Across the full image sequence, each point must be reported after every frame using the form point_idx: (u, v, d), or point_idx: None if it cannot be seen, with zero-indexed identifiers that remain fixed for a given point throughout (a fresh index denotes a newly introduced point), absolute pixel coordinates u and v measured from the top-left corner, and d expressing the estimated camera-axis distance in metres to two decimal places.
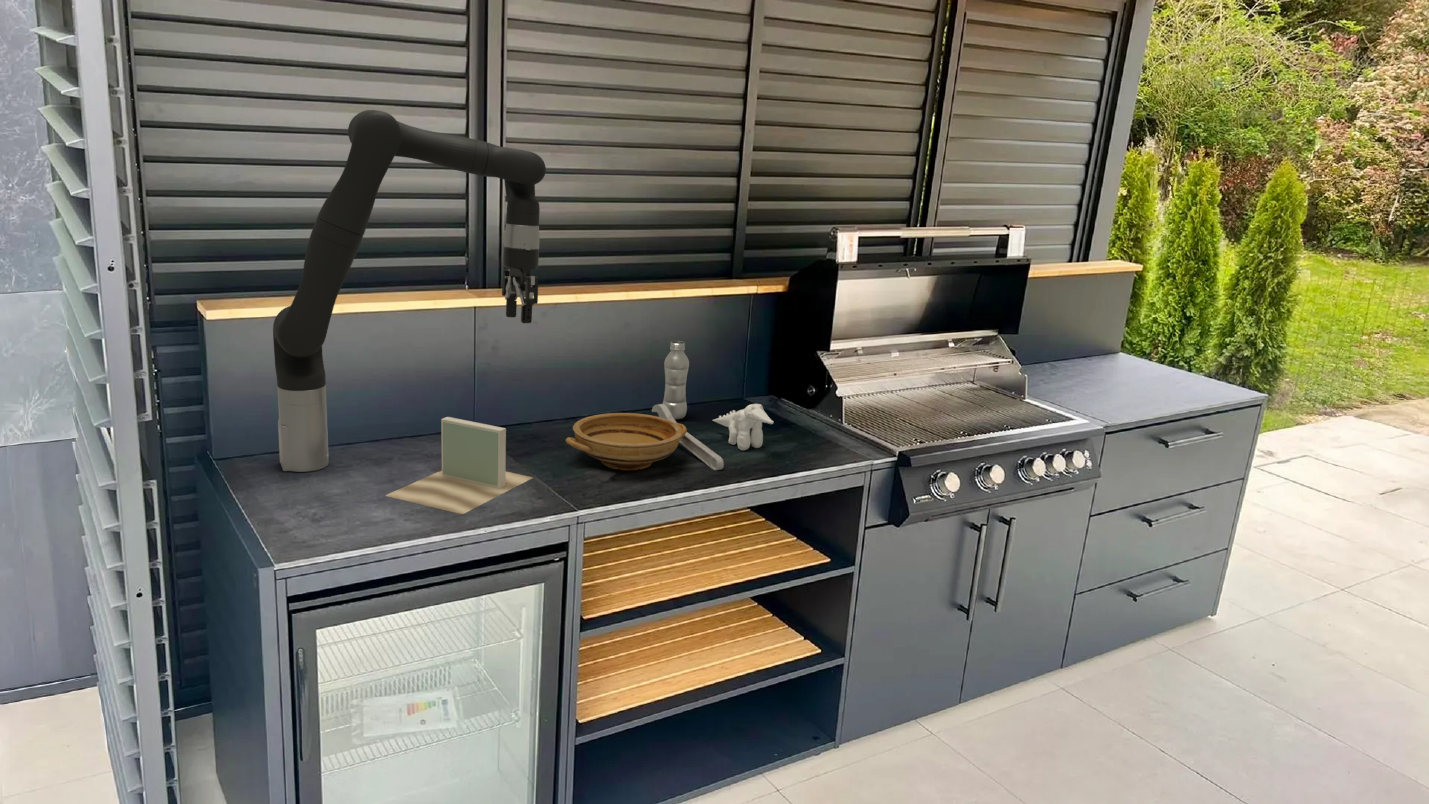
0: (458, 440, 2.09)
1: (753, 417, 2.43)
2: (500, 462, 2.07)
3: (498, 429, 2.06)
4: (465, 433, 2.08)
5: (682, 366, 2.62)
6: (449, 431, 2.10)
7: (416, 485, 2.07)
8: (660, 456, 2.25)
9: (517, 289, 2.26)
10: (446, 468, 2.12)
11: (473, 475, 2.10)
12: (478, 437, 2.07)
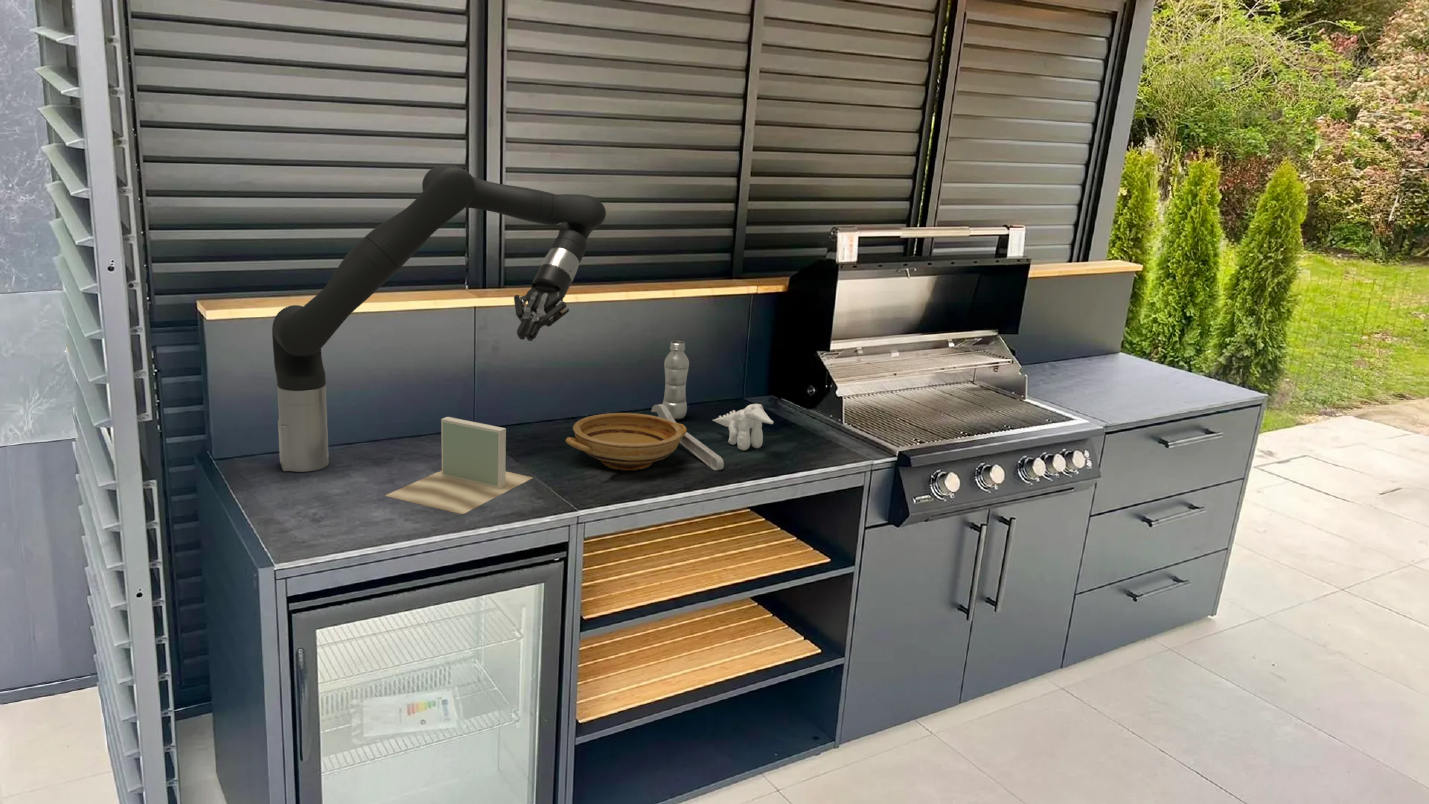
0: (458, 440, 2.09)
1: (753, 417, 2.43)
2: (500, 462, 2.07)
3: (498, 429, 2.06)
4: (465, 433, 2.08)
5: (682, 366, 2.62)
6: (449, 431, 2.10)
7: (416, 485, 2.07)
8: (660, 456, 2.25)
9: (541, 305, 2.22)
10: (446, 468, 2.12)
11: (473, 475, 2.10)
12: (478, 437, 2.07)
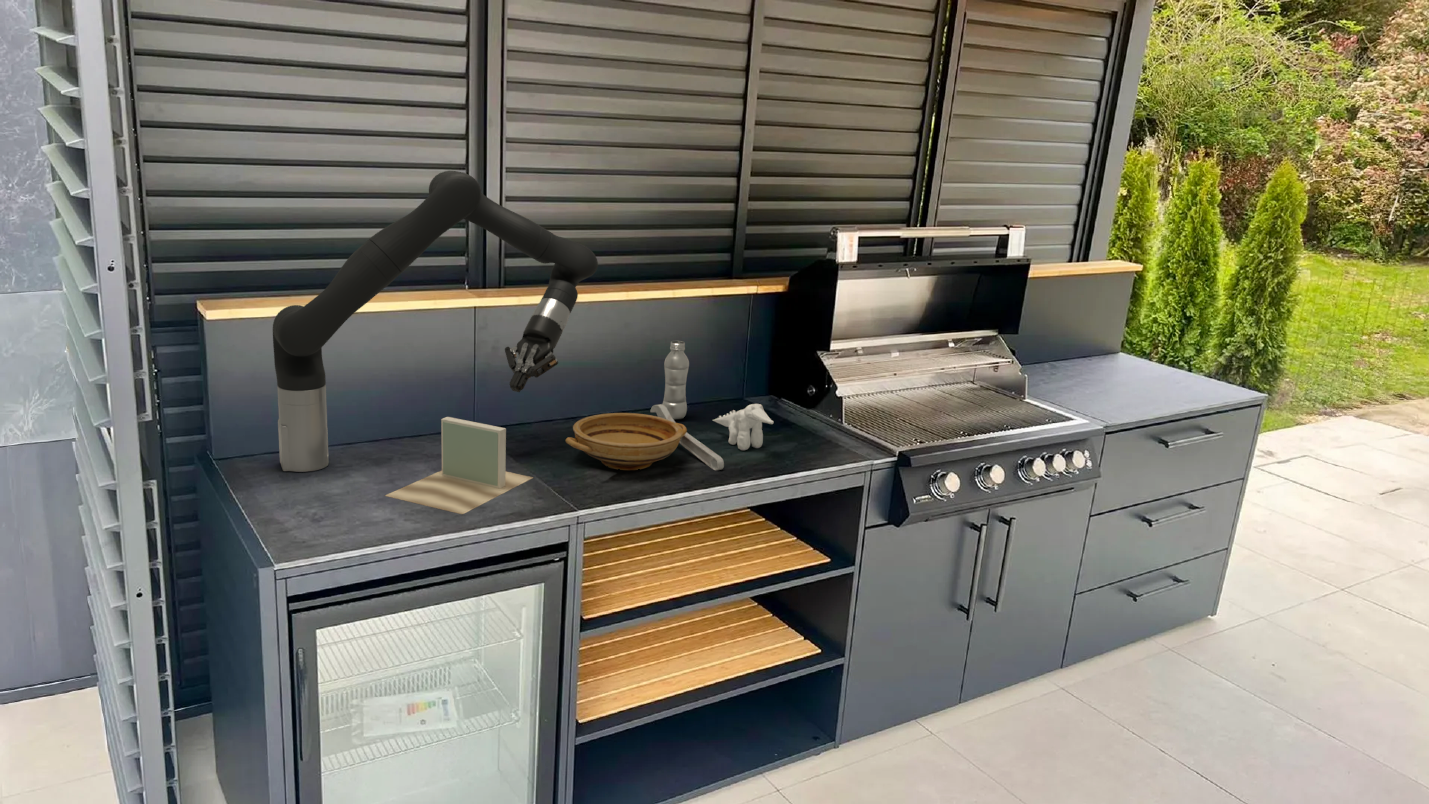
0: (458, 440, 2.09)
1: (753, 417, 2.43)
2: (500, 462, 2.07)
3: (498, 429, 2.06)
4: (465, 433, 2.08)
5: (682, 366, 2.62)
6: (449, 431, 2.10)
7: (416, 485, 2.07)
8: (660, 456, 2.25)
9: (530, 356, 2.22)
10: (446, 468, 2.12)
11: (473, 475, 2.10)
12: (478, 437, 2.07)
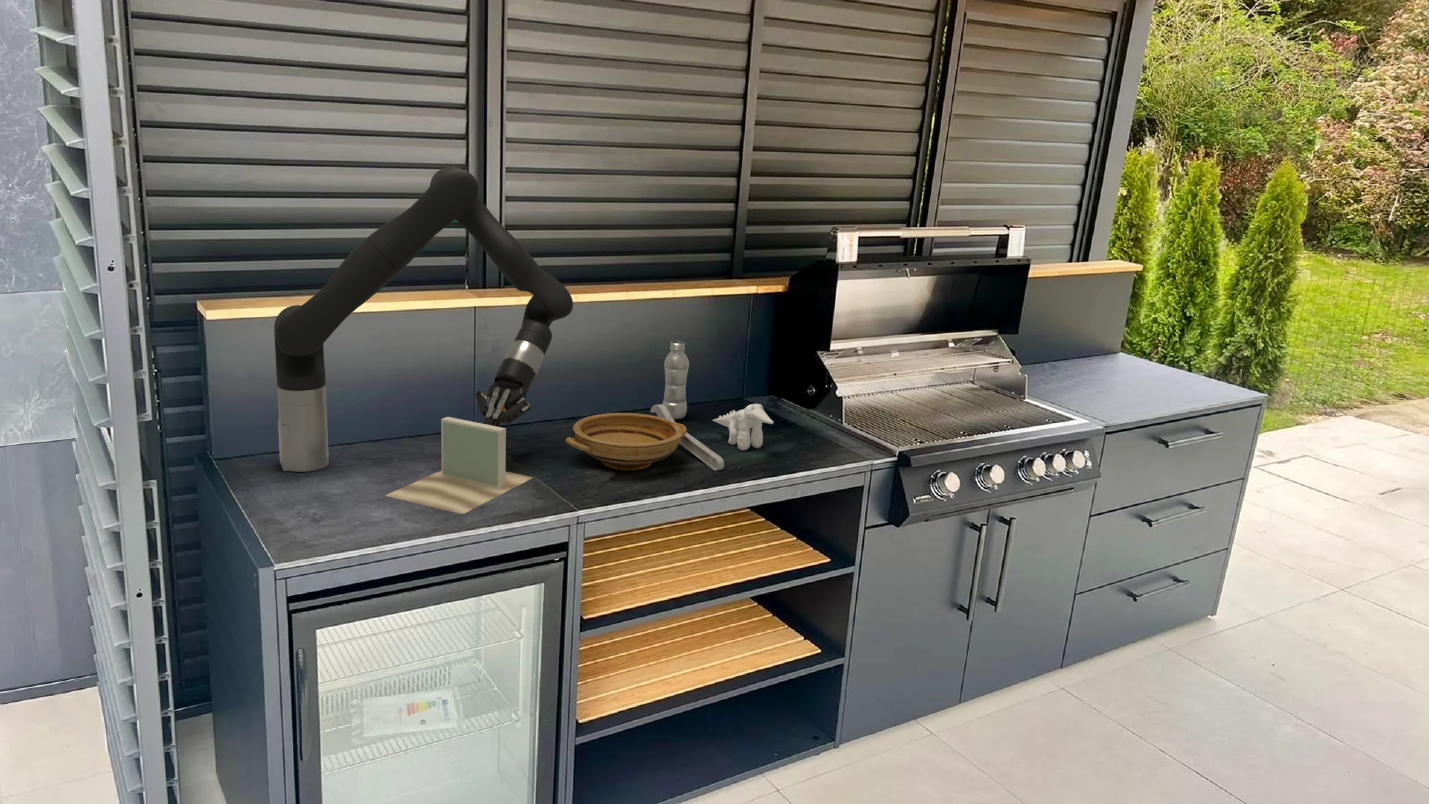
0: (458, 440, 2.09)
1: (753, 417, 2.43)
2: (500, 462, 2.07)
3: (498, 429, 2.06)
4: (465, 433, 2.08)
5: (682, 366, 2.62)
6: (449, 431, 2.10)
7: (416, 485, 2.07)
8: (660, 456, 2.25)
9: (502, 401, 2.15)
10: (446, 468, 2.12)
11: (473, 475, 2.10)
12: (478, 437, 2.07)
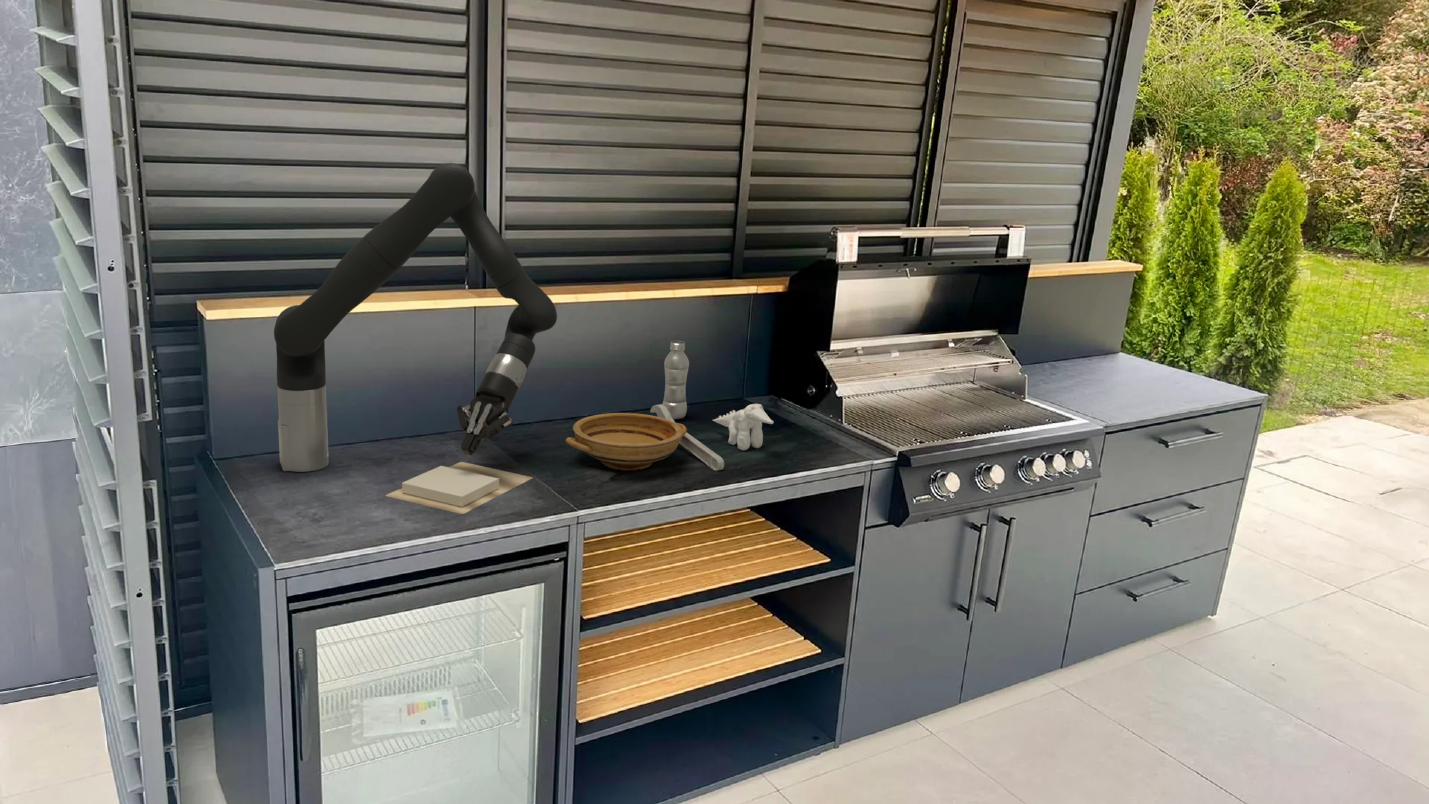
0: None
1: (753, 417, 2.43)
2: (483, 495, 2.03)
3: (458, 503, 1.97)
4: None
5: (682, 366, 2.62)
6: None
7: None
8: (660, 456, 2.25)
9: (483, 416, 2.09)
10: None
11: None
12: None
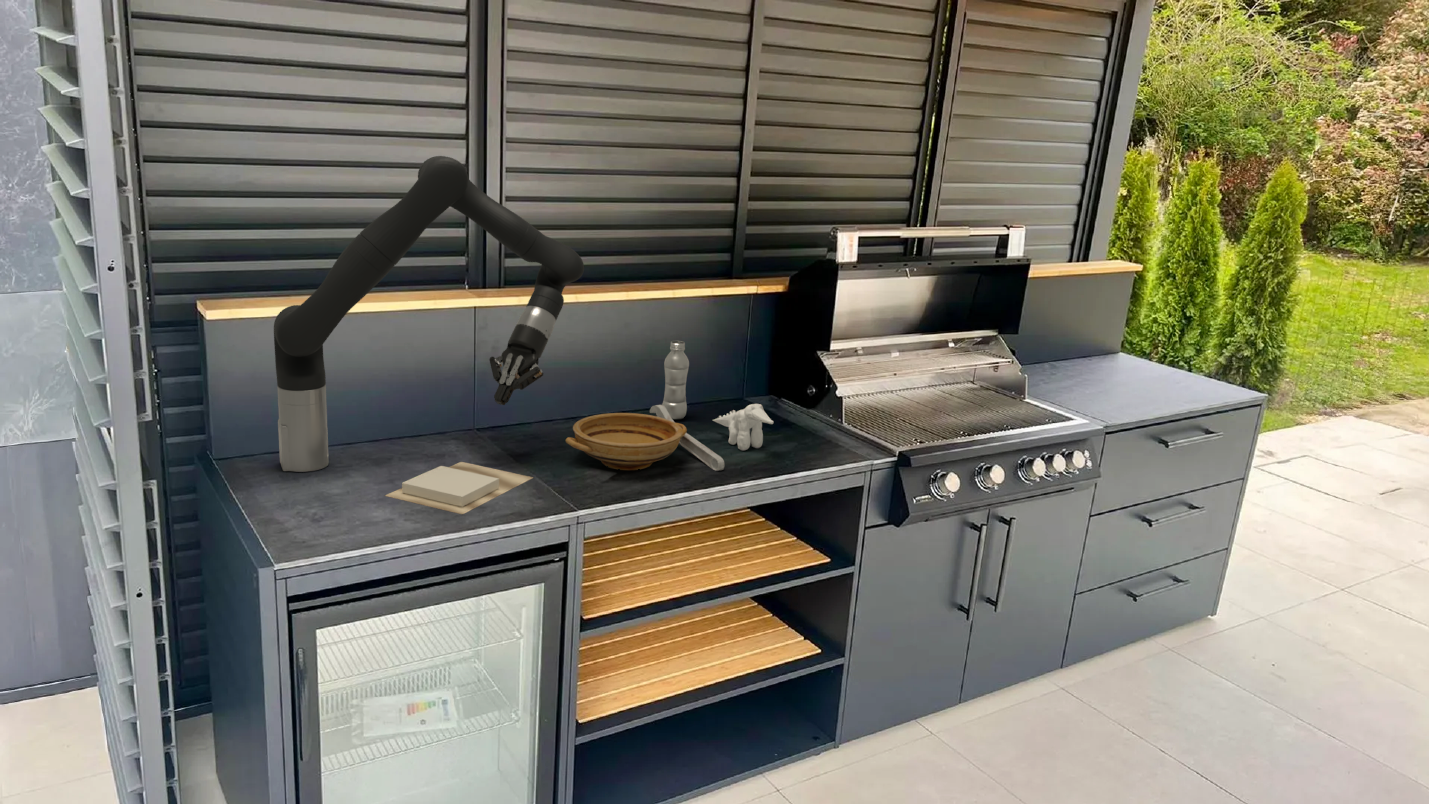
0: None
1: (753, 417, 2.43)
2: (483, 495, 2.03)
3: (458, 503, 1.97)
4: None
5: (682, 366, 2.62)
6: None
7: None
8: (660, 456, 2.25)
9: (515, 368, 2.18)
10: None
11: None
12: None
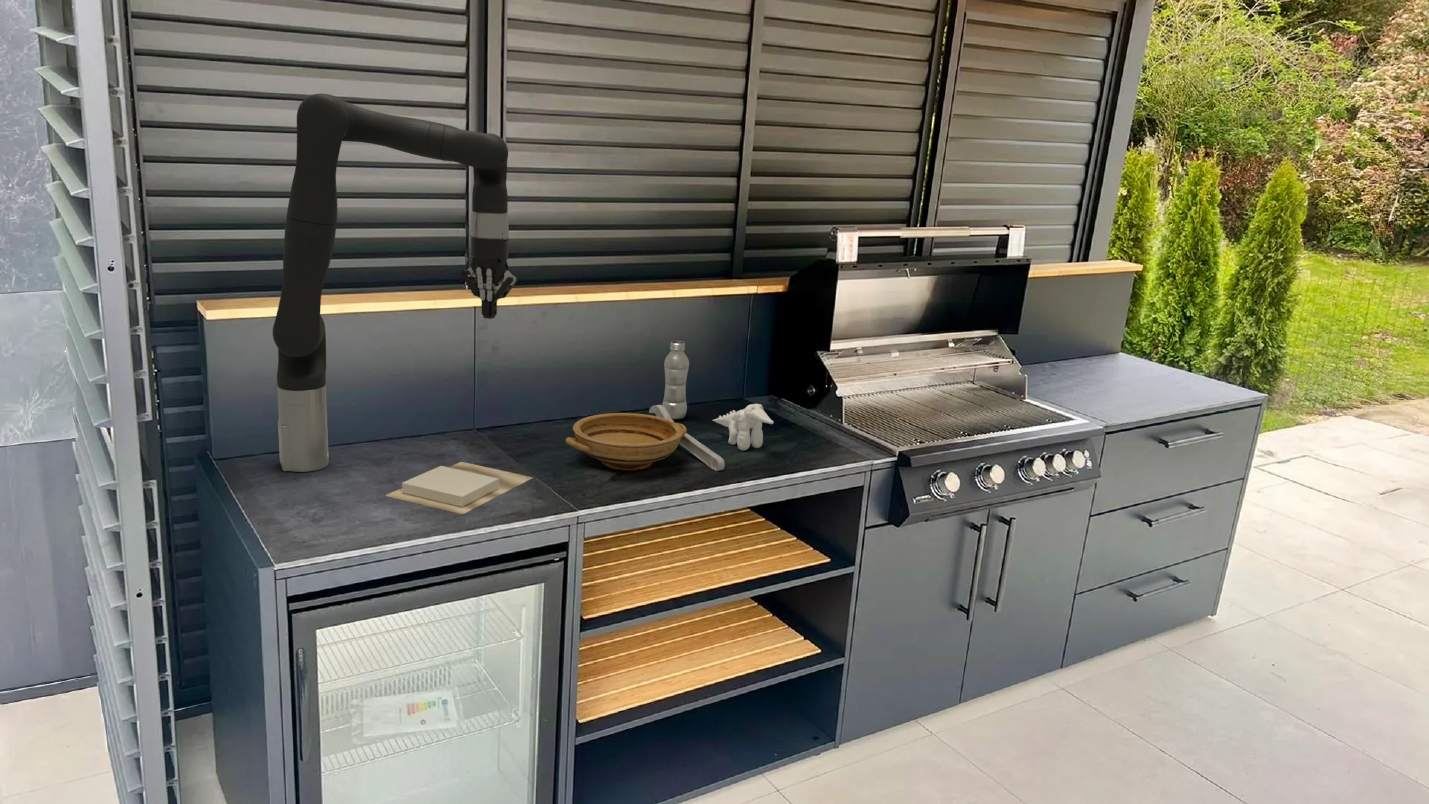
0: None
1: (753, 417, 2.43)
2: (483, 495, 2.03)
3: (458, 503, 1.97)
4: None
5: (682, 366, 2.62)
6: None
7: None
8: (660, 456, 2.25)
9: (489, 283, 2.14)
10: None
11: None
12: None
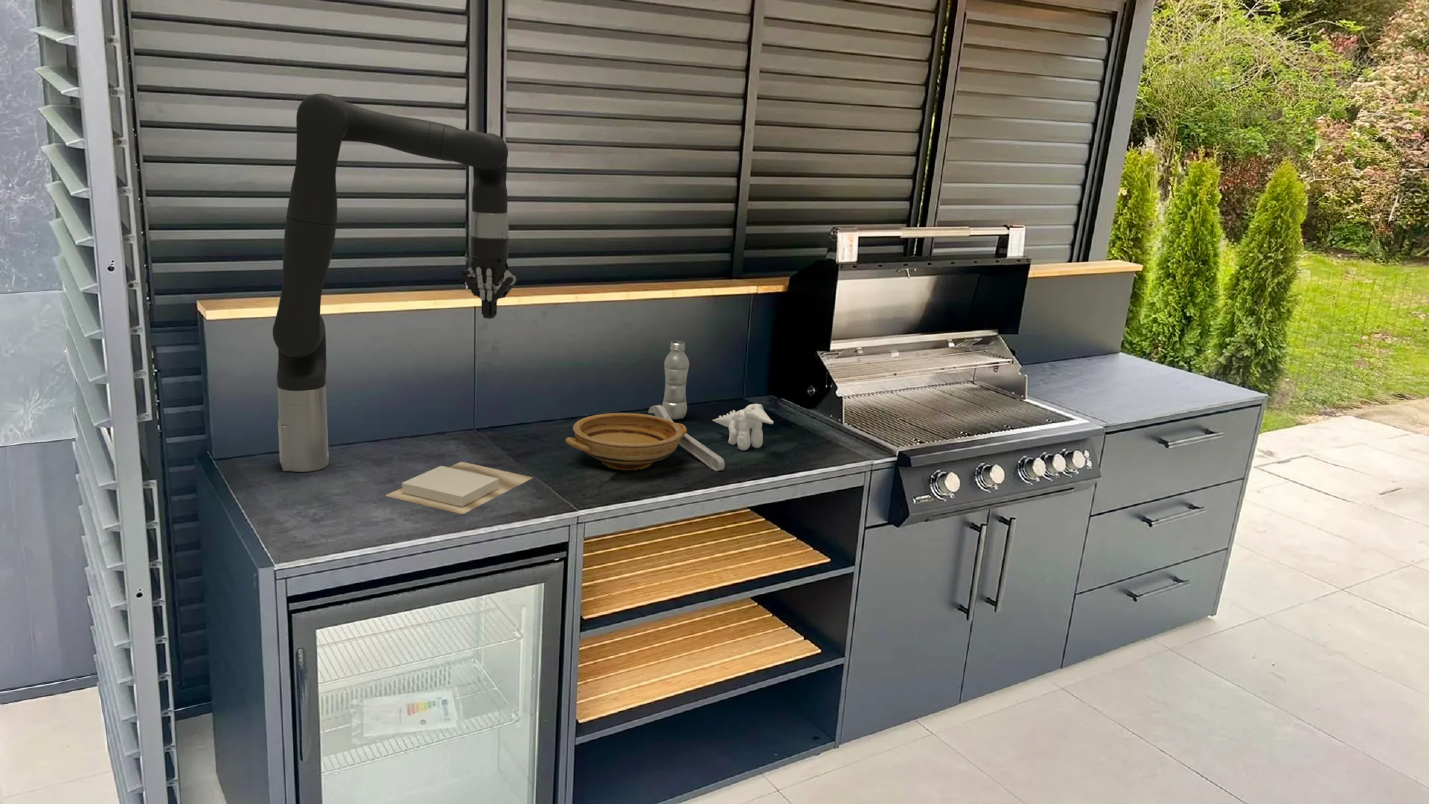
0: None
1: (753, 417, 2.43)
2: (483, 495, 2.03)
3: (458, 503, 1.97)
4: None
5: (682, 366, 2.62)
6: None
7: None
8: (660, 456, 2.25)
9: (489, 283, 2.14)
10: None
11: None
12: None
